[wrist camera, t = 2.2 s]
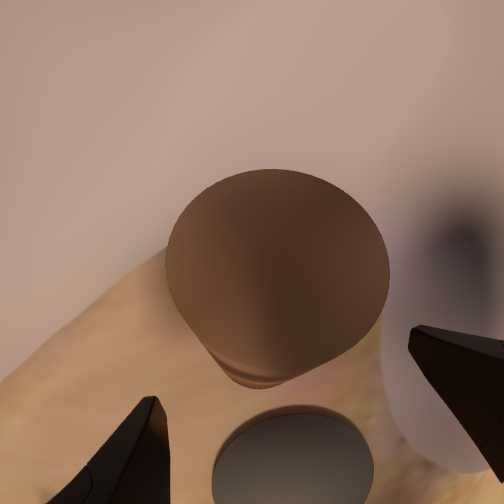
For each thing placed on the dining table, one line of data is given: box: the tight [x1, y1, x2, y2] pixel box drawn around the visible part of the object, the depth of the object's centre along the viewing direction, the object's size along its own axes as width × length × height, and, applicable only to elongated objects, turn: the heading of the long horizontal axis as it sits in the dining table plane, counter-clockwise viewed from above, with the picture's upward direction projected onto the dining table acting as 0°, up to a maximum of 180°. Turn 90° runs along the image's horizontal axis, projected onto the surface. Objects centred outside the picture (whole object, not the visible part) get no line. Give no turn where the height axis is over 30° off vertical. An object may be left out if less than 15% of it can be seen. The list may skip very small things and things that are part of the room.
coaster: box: [212, 414, 374, 504], centre depth 13 cm, size 11×11×1 cm
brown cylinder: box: [166, 169, 390, 389], centre depth 13 cm, size 6×6×13 cm
